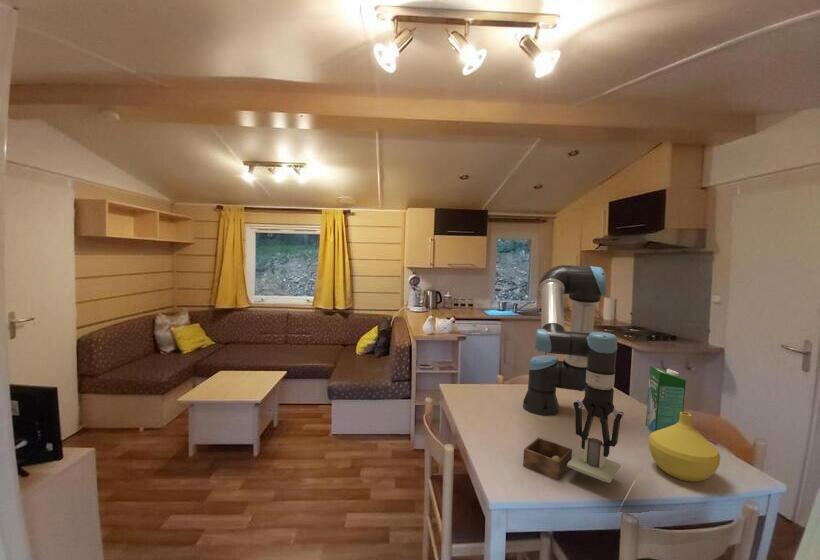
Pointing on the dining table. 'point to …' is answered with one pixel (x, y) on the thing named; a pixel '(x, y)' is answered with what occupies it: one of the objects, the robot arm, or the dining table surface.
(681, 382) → the milk carton
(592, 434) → the dining table surface
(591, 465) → the lid
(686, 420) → the vase
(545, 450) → the walnut box
